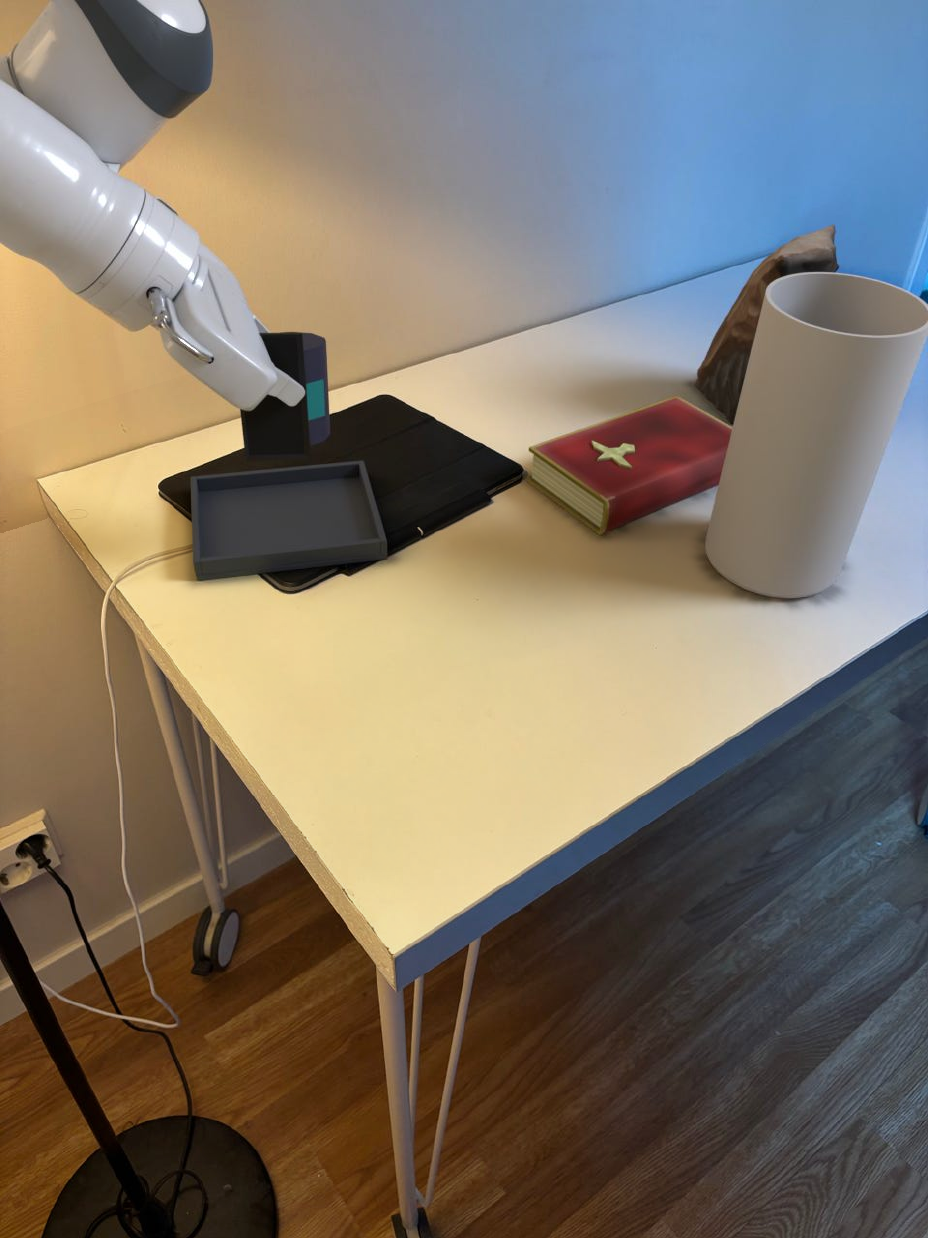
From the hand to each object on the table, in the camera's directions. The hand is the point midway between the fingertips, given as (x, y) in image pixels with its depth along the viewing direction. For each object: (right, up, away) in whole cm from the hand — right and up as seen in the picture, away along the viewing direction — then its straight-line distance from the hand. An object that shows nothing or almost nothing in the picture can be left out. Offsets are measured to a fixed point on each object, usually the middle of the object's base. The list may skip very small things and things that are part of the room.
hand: (289, 375), depth 78 cm
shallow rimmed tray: (-3, -11, +14) cm, 18 cm away
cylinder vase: (+43, -15, +12) cm, 47 cm away
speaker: (-1, -5, +3) cm, 6 cm away
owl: (+48, +6, +37) cm, 61 cm away
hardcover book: (+33, -5, +23) cm, 40 cm away
